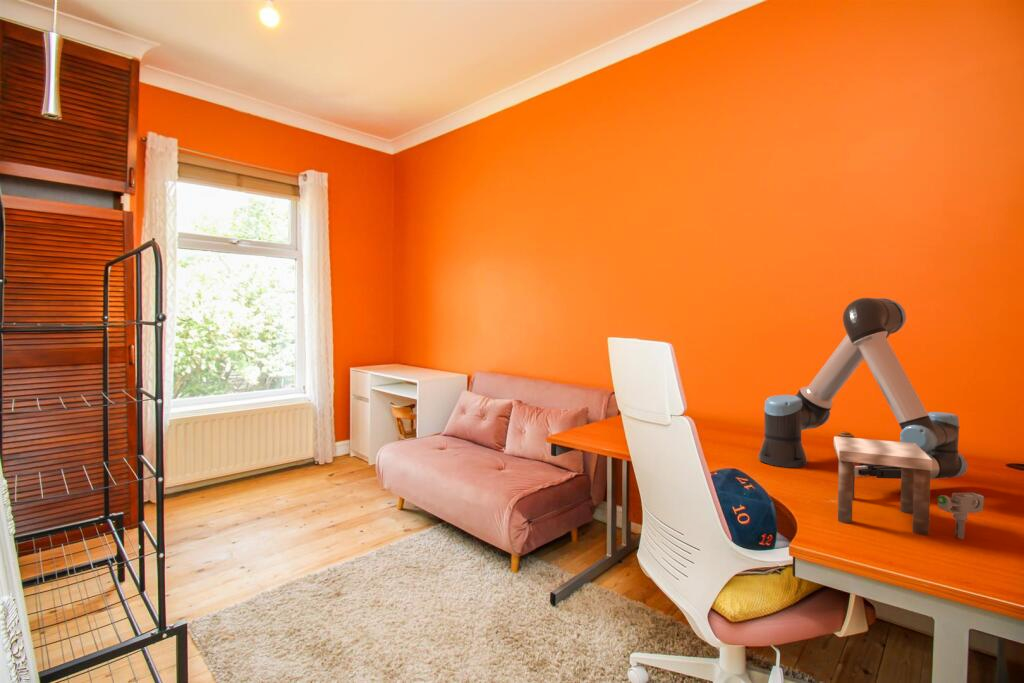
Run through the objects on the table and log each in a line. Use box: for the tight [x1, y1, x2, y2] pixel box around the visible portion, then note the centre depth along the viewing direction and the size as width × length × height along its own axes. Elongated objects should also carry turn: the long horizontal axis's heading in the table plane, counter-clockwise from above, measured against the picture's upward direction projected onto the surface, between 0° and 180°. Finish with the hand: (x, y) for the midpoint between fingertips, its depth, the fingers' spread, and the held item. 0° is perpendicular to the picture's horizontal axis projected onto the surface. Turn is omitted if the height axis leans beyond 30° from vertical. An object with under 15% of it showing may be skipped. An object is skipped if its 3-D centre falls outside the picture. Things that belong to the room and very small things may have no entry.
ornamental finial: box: [833, 430, 856, 452], centre depth 192 cm, size 8×8×8 cm
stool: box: [833, 435, 932, 536], centre depth 128 cm, size 18×18×18 cm
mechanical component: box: [936, 492, 985, 540], centre depth 115 cm, size 3×10×10 cm, turn 95°
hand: (847, 472), depth 144 cm, fingers closed
